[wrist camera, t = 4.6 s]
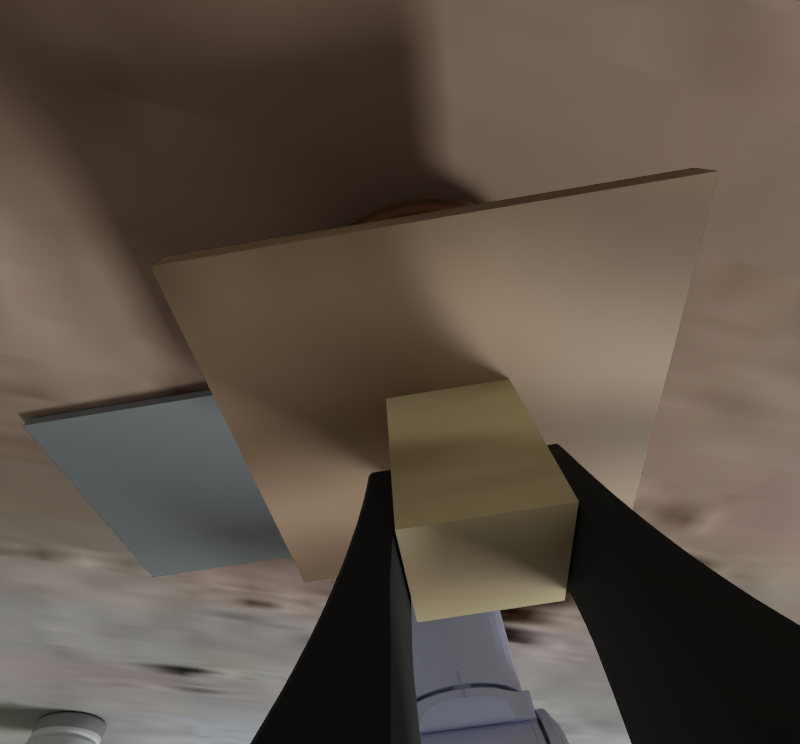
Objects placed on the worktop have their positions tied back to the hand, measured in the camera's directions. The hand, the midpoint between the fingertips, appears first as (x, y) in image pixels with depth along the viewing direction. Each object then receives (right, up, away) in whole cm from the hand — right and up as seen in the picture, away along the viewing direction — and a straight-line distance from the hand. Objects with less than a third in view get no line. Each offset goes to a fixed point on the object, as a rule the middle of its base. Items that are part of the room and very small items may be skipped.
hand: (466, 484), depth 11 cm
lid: (0, +1, +2) cm, 3 cm away
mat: (-13, -4, +14) cm, 20 cm away
